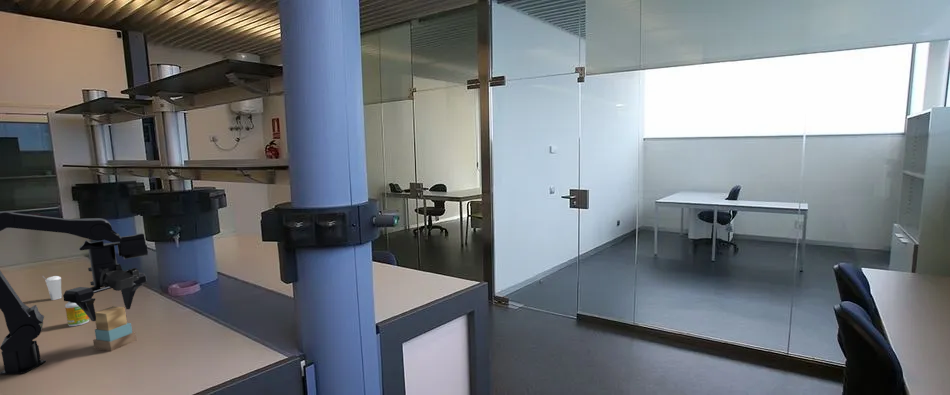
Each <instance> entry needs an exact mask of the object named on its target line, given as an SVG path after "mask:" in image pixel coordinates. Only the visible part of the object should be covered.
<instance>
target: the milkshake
mask: <svg viewBox="0 0 950 395" xmlns="http://www.w3.org/2000/svg"><path fill="white" fill-rule="evenodd" d="M42 278H43V279H44V280H45V284H46V287H47V289H48V293H49V297H50V300H51V301H55V300H59V299H62V298H63V294H62V277H61V276H59V275H53V276H49V277H47V278H46V277H45V276H44V275H42Z"/></svg>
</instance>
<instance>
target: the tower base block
mask: <svg viewBox="0 0 950 395" xmlns="http://www.w3.org/2000/svg"><path fill="white" fill-rule="evenodd" d="M136 333H137V332H135V331H132V333H131V334H128V335H126V336H123V337H121V338H118V339H116V340H113V341H111V342H109V341H103V340H96V338H95V339H93V340H92V341H93V348H94V350H101V351H108V352H113V351H115V350H118V349H121V348H123V347H125V346H127V345H130V344H132V343H134V342H136V341H137V334H136Z"/></svg>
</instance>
